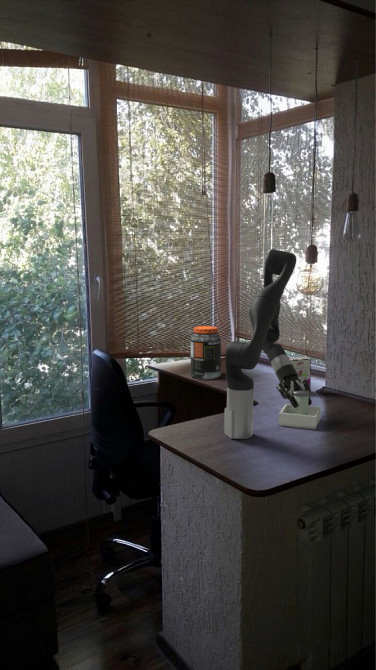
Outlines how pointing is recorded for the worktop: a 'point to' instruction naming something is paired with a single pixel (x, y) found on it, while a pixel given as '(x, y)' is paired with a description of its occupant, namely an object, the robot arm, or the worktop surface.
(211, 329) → the supplement tub
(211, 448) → the worktop surface
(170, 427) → the worktop surface
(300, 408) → the jar
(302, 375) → the candy bar box
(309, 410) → the tray
